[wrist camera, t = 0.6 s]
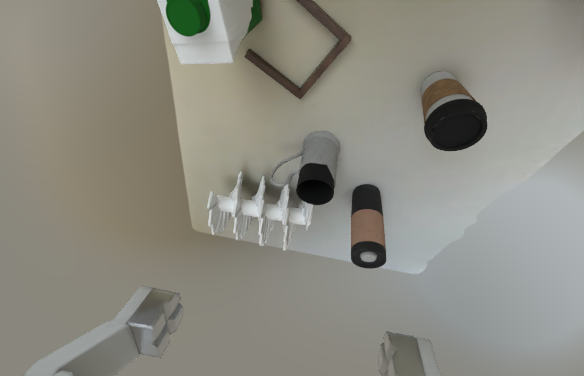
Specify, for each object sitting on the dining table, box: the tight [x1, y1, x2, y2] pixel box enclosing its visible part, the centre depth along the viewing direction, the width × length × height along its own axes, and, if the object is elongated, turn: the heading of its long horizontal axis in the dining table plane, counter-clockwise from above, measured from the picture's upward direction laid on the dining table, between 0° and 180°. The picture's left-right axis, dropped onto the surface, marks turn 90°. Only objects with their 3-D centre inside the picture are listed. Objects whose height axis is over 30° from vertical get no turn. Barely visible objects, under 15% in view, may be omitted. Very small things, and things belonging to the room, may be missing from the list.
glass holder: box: [270, 131, 340, 205], centre depth 61 cm, size 9×14×15 cm, turn 94°
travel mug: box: [351, 184, 386, 268], centre depth 68 cm, size 8×8×20 cm
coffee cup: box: [421, 71, 487, 151], centre depth 47 cm, size 8×8×15 cm
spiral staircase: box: [207, 171, 313, 251], centre depth 73 cm, size 18×18×25 cm
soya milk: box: [157, 0, 262, 64], centre depth 40 cm, size 9×9×20 cm
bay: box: [245, 0, 351, 99], centre depth 50 cm, size 14×13×2 cm
